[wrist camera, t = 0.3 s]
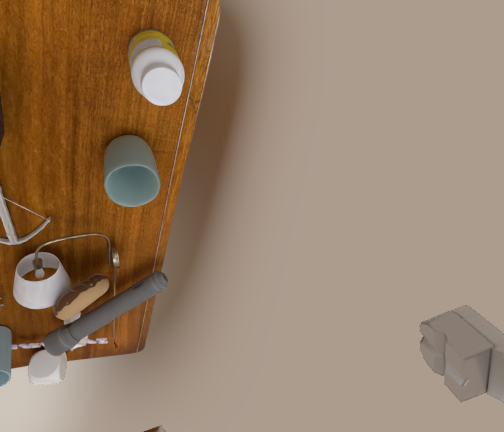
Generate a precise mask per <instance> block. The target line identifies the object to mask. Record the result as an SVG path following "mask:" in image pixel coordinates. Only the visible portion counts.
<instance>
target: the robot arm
mask: <svg viewBox="0 0 504 432" xmlns="http://www.w3.org/2000/svg"><path fill="white" fill-rule="evenodd" d="M420 332H421V333H422V334H423V335H424V337H423V338H422V340H421V341H420V347H421V348H420V349H421V352H422V355H423V357H424V359H425V361H426V363H427V364H428V366H429V367H430V368H431V369H432V370H433V371H434V372H435V373H438V374H440V375H443V376H444V383H445V385H446V386H447V387H448V388H449V389H450V390H451V391H452V393H453V394H454V395H455V396H456V397H457V398H458V399H459V401H460V402H463V401H466V400H468V399H471V398H473V397H476V396H478V395H481V394H483V393H486V392H487V394H489V395H491V396H493V397H495V398H497V399H499V400H500V401H502V402H504V334H503V333H502V332H501V331H500V330H499V329H497V328H496V327H495V326H493V325H492V324H491V323H490V322H489V321H487V320H486V319H485V318H483V317H482V316H481V315H480V314H479V313H477V312H476V311H475V310H473V309H472V308H471V307H469V306H467V305H465V306H462V307H459V308H457V309H454V310H452V311H448V312H445V313H443V314H441V315H438V316H436V317H433V318H431V319H429V320H426V321H424V322H422V323H421V325H420ZM144 432H165V430H164V429H163V427H162V426H158V427H155V428H152V429H150V430H147V431H144Z"/></svg>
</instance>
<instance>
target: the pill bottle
mask: <svg viewBox="0 0 504 432" xmlns="http://www.w3.org/2000/svg"><path fill="white" fill-rule="evenodd" d="M128 59H129V65H130V71H131V77H132V81H133V84H134V86H135V88H136V89H137V90H138V92H139V93H140V94H142V95H143V96H144V97H145V98H146V99H147V100H148V101H150V102H151V103H153V104H155V105H159V106H166V105H170V104H172V103H174V102H175V101H176V100H177V99H178V98H179V96H180V94H181V91H182V86H183V84H184V79H185V73H184V68H183V65H182V63H181V61H180V58H179V56H178V54H177V51H176V49H175V47H174V45H173V43H172V41H171V40H170V38H169V37H168V36H167V35H166V34H164V33H163V32H161V31H158V30H155V29H145V30H141V31H139V32H138V33H136V34H135V35H134V36H133V37H132V38H131V40H130V42H129V45H128Z"/></svg>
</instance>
